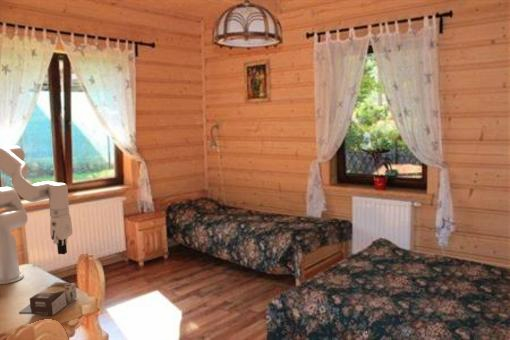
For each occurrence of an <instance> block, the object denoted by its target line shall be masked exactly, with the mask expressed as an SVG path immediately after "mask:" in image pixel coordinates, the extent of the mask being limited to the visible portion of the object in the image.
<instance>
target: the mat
mask: <svg viewBox="0 0 510 340" xmlns="http://www.w3.org/2000/svg"><path fill="white" fill-rule="evenodd" d="M18 313H19V314H31V308H30V303H29V304H28V305H27V306H26V307H24V308H23V309H21V310H20V311H18Z"/></svg>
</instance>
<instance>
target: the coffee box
mask: <svg viewBox="0 0 510 340" xmlns="http://www.w3.org/2000/svg"><path fill="white" fill-rule="evenodd" d="M77 298H78V297H77V283H74V282H72V283H71V282H61V281H60V282H59V281H55V282H53V283H51V284H50V285H49V286H47V287H45V288H44V289H42V290H41V291H38V293H36V294H34V295H33V296H32V297H30V298H29V304H30V308H31V313H30V314H31V315H41V316H54V315H56V314H57V313H58V312H59V311H61V310H62V309H63V308H65V307H66V306H68V305H69V304H70V303H71V302H73V301H74V300H75V299H77Z"/></svg>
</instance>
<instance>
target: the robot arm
mask: <svg viewBox="0 0 510 340" xmlns="http://www.w3.org/2000/svg"><path fill="white" fill-rule="evenodd" d="M25 156H26V155H25V152H24V149H23V148H22V147H20V146H18V145H14V144H13V145H4V146H0V170H1V171H2V172H3V173H4V174H6V175H7V176H8V177H9V178H10V179H11V185H12V187H10V186H1V187H0V210H1V209H4V210H1V211H0V285H5V284H11V283H12V284H13V283H15V282H19V281H20V280H22V279H23V278H24V276H25V274H24V273H23V272H20V265H19V257H18V248H17V240H16V237H15V236H14V235H13V233H12V232H11V231H13V230H17V229H19V228H22V227H23V226H25V225H27V223H28V213H27V210H26V209H25V207H24V204H23V203H22V200H21V198H20V197H22V198H23V199H24V200H25V201H27V202H29V203H36V202H40V201H44V200H48V206H49V217H50V223H49V224H50V226H49V229H50V230H49V231H50V239H51V240H52V241H53V244H56V246H57V254H58V255H65V254H67V253H68V249H67V248H68V247H67V243H68V239H69V237H71V236H72V235H73V223H72V219H71V218H72V217H71V213H70V206H69V203H70V202H69V191H68V184H66V183H64V182H55V181H51V180H46V181H41V182H36V183H30V182H29V181H28V180H27V179H26V178H25V176H26V175H27V173H28V172H29V165H28V164H27V163H26V162H25Z"/></svg>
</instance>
